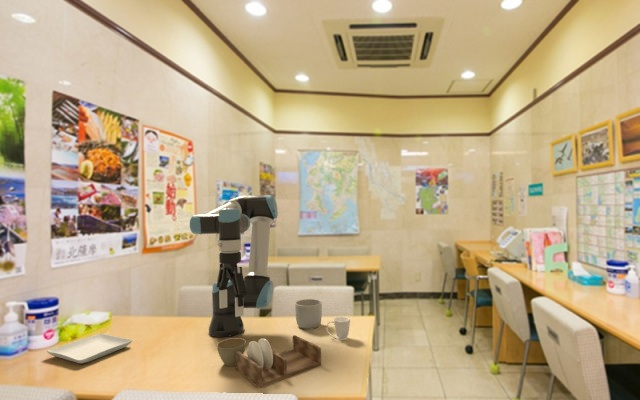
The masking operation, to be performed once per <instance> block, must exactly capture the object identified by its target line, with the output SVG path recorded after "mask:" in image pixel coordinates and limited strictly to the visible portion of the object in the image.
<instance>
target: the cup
mask: <svg viewBox="0 0 640 400" xmlns="http://www.w3.org/2000/svg"><path fill="white" fill-rule="evenodd" d="M330 323H333V325H334V331H335V333H336V334H335V335H336V336H334V335H333V334H331V333H330V331H329V329H328V326H329V324H330ZM350 323H351V318H349V317H347V316H336V317H334V318H333V320H330V321H328V322H327V324H326V333H327V334H328V335H330V336H331V337H332V338H334V339H337V341H342V342H343V341H346V340H348V336H349V331H350Z"/></svg>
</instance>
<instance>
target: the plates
mask: <svg viewBox="0 0 640 400" xmlns="http://www.w3.org/2000/svg"><path fill="white" fill-rule="evenodd" d="M272 350H273V349H272V346H271V344H270V342H269V341H268V339H266V338H264V337H262V338H260V339H258V340H257V341H256V340H252V341H249V343H248V345H247V353H246V354H247V355H246V356H247V357H248V358H249V359H251V360H252V361H254V362H255V363H257V364H258V365H260V366H261V367H262V369H264V370H269V369H271V367H272V365H273V352H272Z"/></svg>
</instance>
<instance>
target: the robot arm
mask: <svg viewBox="0 0 640 400" xmlns="http://www.w3.org/2000/svg"><path fill="white" fill-rule="evenodd" d="M277 218H278V205H277V201H276V198H275V196H273V195H271V194H255V195H240V196H237V197H234V198H231V199H228V200H226V201H225V202H224V203H223V205H221V206H219V207H216V208H215V209H213V210H211V211H209V212H207V213H205V214H193V215H192V216H191V217H190V219H189V230H190V232H191V233H192V234H195V235H210V234H211V235H214V234H216V235H217V234H218V236H219V237H218V240H219V241H218V243H217V245H218V246H219V249H218V250H219V252H220V253H219V254H218V256H219V257H218V258H219V271H218V276H217V281H215V282H214V283H213V284H212V288H211V289H212V290H211V291H212V292H211V297H212V299H211V301H212V317H211V320H210V322H209V326H208V335H209V336H212V337H216V338H227V337H234V336H237V335H239V334H241V333H243V332H244V330H245V327H244V322H243V319H242V316H245V315H244V313H245V312H244V309H263V308H264V309H265V308H267V307H269V306H270V304H271V301H272V299H273V294H274V282H273V281H272V280H271V277H270V276H269V275H268V262H269V250H270V247H269V246H270V236H271V235H270V234H271V226H272V224H273V223H275V220H274V219H277ZM251 225H252V227H251ZM250 227H251V237H250V245H249V246H250V248H249V256H248V257H249V259H248V269H247V270H248V271H247V274H245V275H243V266H238V264H239V263H241V262H242V252H241V250H242V238H241V236H242V235H241V234H243V233H245V232H247V231H248V230H249V228H250Z"/></svg>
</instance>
